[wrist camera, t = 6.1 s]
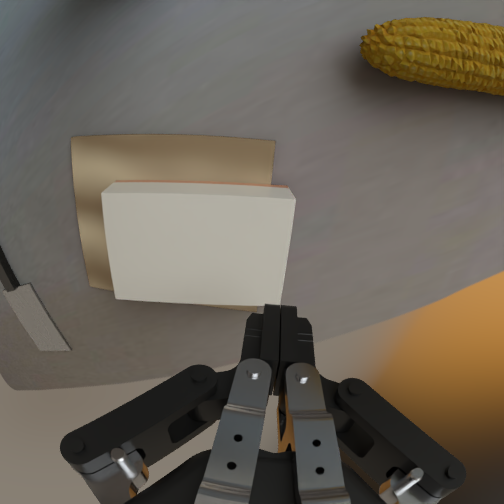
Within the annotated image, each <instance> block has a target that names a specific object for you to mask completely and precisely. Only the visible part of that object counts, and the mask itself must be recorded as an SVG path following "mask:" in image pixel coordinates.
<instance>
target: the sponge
mask: <svg viewBox="0 0 504 504" xmlns="http://www.w3.org/2000/svg"><path fill="white" fill-rule="evenodd" d="M101 197H102V208H103V218H104V227H105V235H106V243H107V250H108V257H109V263H110V270H111V276H112V281H113V287H114V292H115V298H116V299H122V300H136V301H151V302H168V303H187V304H210V305H243V306H264V305H265V304H275V305H280V301H281V295H282V289H283V283H284V277H285V271H286V264H287V258H288V251H289V245H290V238H291V232H292V225H293V218H294V211H295V204H296V199H295V197H294V195H293V194H292V192H291V191H290V189H289V188H288V186H283V185H270V184H254V183H237V182H215V181H184V180H116V181H115V182H114V183H112V184H111V185H110V186H109V187H108V188H107V189H105V190H104V191H103V192H102V193H101Z"/></svg>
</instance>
